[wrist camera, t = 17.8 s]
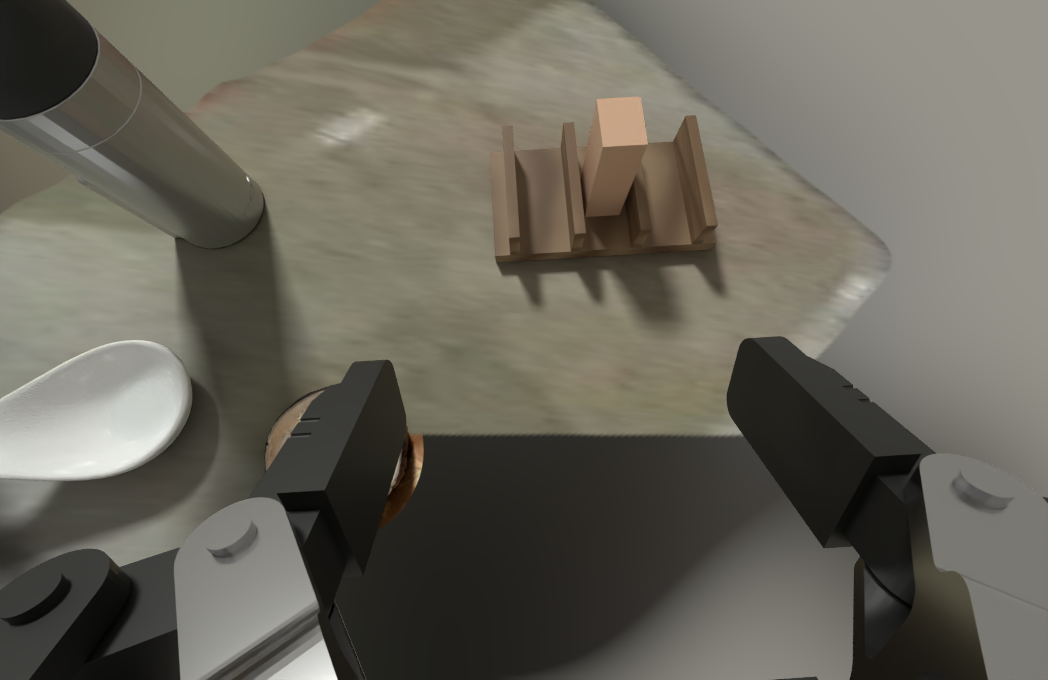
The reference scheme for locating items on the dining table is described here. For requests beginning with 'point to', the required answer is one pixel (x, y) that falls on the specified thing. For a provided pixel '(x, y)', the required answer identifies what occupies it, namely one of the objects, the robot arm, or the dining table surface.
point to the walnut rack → (564, 232)
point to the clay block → (612, 155)
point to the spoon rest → (95, 414)
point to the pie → (404, 472)
